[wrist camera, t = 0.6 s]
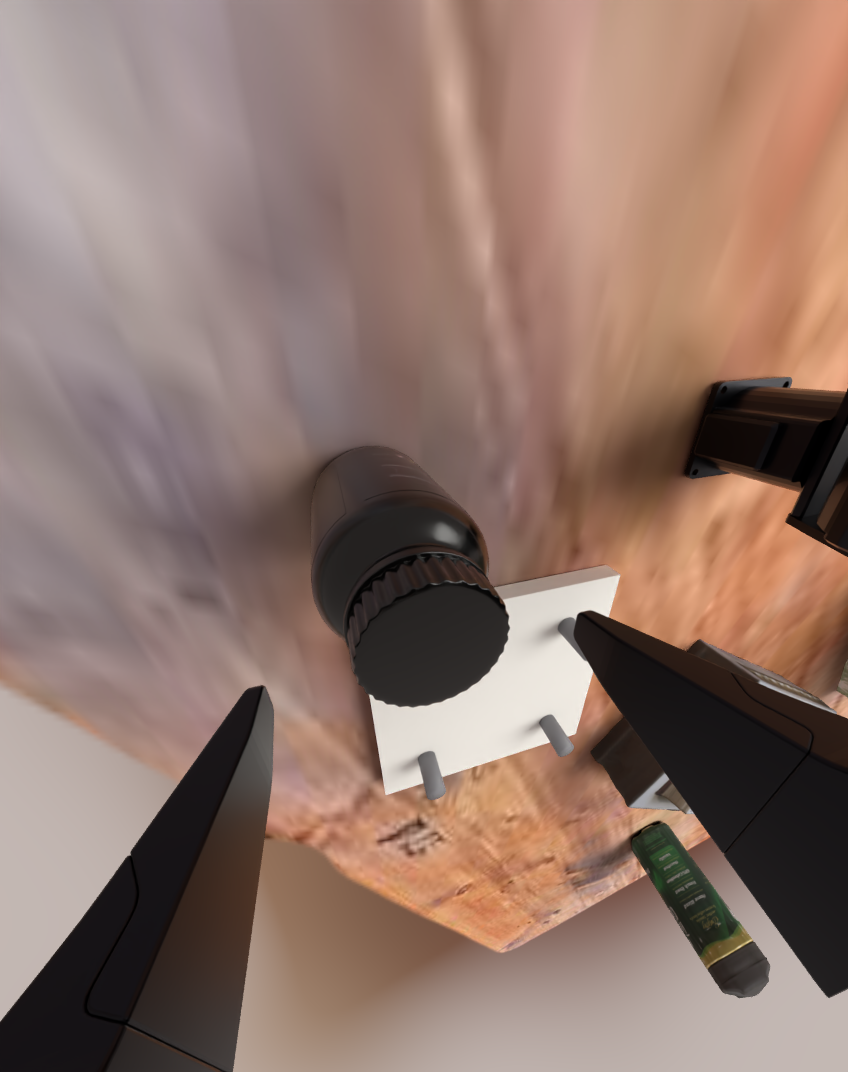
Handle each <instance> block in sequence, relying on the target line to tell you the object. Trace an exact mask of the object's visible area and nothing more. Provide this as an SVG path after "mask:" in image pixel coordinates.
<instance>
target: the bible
mask: <svg viewBox="0 0 848 1072" xmlns="http://www.w3.org/2000/svg"><path fill="white" fill-rule="evenodd" d="M687 652H688V653H690V654H693V655H695V656H697V657H700V658H702V659H704V660H706V661H709V662H711V663H713V664H715V665H718V666H720V667H722V668H725V669H727V670H729V672H734V673H736V674H738V675H741V676H743V677H745V678H747V679H750V680H752V681H754V682H757V683H759V684H761V685H764V686H766V687H768V688H771V689H773V690H775V691H778V692H781V693H783V694H786V695H788V696H791V697H793V698H796V699H798V700H801V701H803V702H806V703H808V704H811V705H814V706H816V707H819V708H821V709H824V710H827V711H829V712H832V713H834V714H836V713H837V712H836V711H835V710H833V709H832V708H830V707H829V706H827V705H826V704H825V703H824V702H823V701H822V700H820V699H819V698H817V697H815V696H813V695H812V694H810V693H809V692H807V691H806V690H804V689H802V688H800V687H798V686H796V685H795V684H793V683H791V682H790V681H788V680H787V679H785V678H783V677H782V676H780V675H778V674H775V673H773V672H772V671H769V670H767V669H765V668H762V667H761V666H757V665H755V664H753V663H750V662H749V661H747V660H743V659H739V658H738V657H736V656H734V655H732V654H730V653H727V652H726V651H724V650H722V649H719V648H717V647H715V646H713V645H710V644H708V643H706V642H704V641H702V640H701V639H699V640H698V641H697V642H696V643H695V644H694V645H693V646H692V647H691V648H690V649H689V650H688V651H687ZM591 754H592V755H593V757H594V759H595V760H596V761H597V762H598V763H600V764H601V765H603V767H604V768H605V770H606V771H607V772H608V774H609V776H610V778H611V780H612V782H613V783H614V785H615V787H616V789H617V790H618V791H619V792H620V793H621V795H622V796H623V798H624V799H625V803H626V805H627V806H628V807H631V808H642V809H667V810H672V811H680V810H681V811H682V812H684V813H685V814H694V813H693V811H692V810H691V809H690V807H689V806H688V805H687V803H686V802H685V800H684V799H683V798H682V796H681V795H680V793H679V792H678V791H677V789H676V788H675V787H674V785H673V784H672V782H671V781H670V780H669V778H668V777H667V775H666V774H665V773H664V771H663V770H662V768H661V767H660V766H659V764H658V763H657V762H656V760H655V759H654V757H653V756H652V755H651V753H650V752H649V750H648V749H647V748H646V746H645V745H644V744H643V742H642V741H641V739H640V738H639V737H638V735H637V734H636V732H635V731H634V730H633V728H632V727H631V726H630V724H629V723H628V721H627V720H626V719H625V717H624V718H623V719H622V720H621V721H620V722H619V723H618V724H617V725H616V726H615V727H614V728H613V729H612V730H611V731H610V732H609V734H608V735H607V736H606V737H604V738H603V739H602V741H601V742H600V743H599V744H598V745H597V746H596V747H595V748H594V749H593V750H592V751H591Z"/></svg>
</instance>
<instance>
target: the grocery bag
mask: <svg viewBox="0 0 848 1072" xmlns="http://www.w3.org/2000/svg"><path fill="white" fill-rule="evenodd" d="M837 691H838V692H840V693H841V694H843V695H845V696H846V697H848V660H847V662H846V664H845V666H844V670H843V673H842V676H841V679H840V682H839V685H838V688H837Z"/></svg>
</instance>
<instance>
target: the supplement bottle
mask: <svg viewBox="0 0 848 1072" xmlns="http://www.w3.org/2000/svg"><path fill="white" fill-rule="evenodd" d="M488 571H489V557H488V550H487V546H486V542H485V540H484V537H483V535H482V532H481V531H480V529H479V527H478V526H477V524H476V523H475V522H474V520H473V519H472V518H471V517H470V515H469V514H468V513H467V512H466V511H465V510H464V509H463V508H462V507H461V506H460V505H459V504H458V503H457V502H456V501H455V500H454V499H453V498H452V497H451V496H450V495H449V494H448V493H447V492H446V491H445V490H443V489H442V488H441V487H440V486H439V485H438V484H437V483H436V482H435V481H434V480H433V479H432V478H431V477H430V476H429V475H428V474H427V473H426V472H425V471H424V470H423V469H422V468H421V467H420V466H419V465H418V464H416V463H415V462H414V461H413V460H412V459H410V458H409V457H408V456H406V455H404V454H403V453H401V452H399V451H396V450H394V449H390V448H386V447H380V446H367V447H361V448H357V449H353V450H351V451H348V452H346V453H344V454H342V455H340V456H339V457H337V458H336V459H335V460H333V461H332V462H331V463H330V464H329V465H328V466H327V467H326V468H325V469H324V471H323V472H322V473H321V475H320V477H319V478H318V480H317V483H316V485H315V488H314V491H313V496H312V505H311V583H312V592H313V597H314V602H315V604H316V607H317V610H318V612H319V614H320V615H321V617H322V619H323V620H324V622H325V623H326V624H327V626H328V627H329V628H330V629H331V630H332V631H333V632H334V633H335V634H336V635H337V636H339V637H340V638H341V639H343V640H344V641H346V643H347V646H348V648H349V651H350V659H351V666H352V670H353V673H354V674H355V675H356V679H357V682H358V684H359V685H361V686H362V687H364V690H365V693H367V694H370V695H373V697H374V699H375V700H379V701H383V702H384V703H385V704H387V705H396V706H398V707H405V706H408V707H412V708H414V707H418V706H428V705H431V704H433V703H440V702H443V701H444V700H446V699H449V698H453V697H455V696H457V695H458V694H459V693H461V692H464V691H467V690H468V689H469V688H470V687H471V686H472V685H474V684H476V683H478V682H479V681H480V680H481V679H482V677H483V676H485V675H486V674H488V673H489V672H490V670H491V668H492V667H493V666H494V665H495V664H496V663H497V662H498V659H499V656H500V655H501V654H502V653H503V652H504V645H505V644H506V642H507V641H508V632H509V630H510V626H509V624H508V621H509V614H508V612H507V611H506V605H505V603H504V601H503V600H502V599H501V597H500V596H499V595H498V593H497V591H496V590H495V589H494V588H493V586H492V585H491V584H490V582H489V580H488Z"/></svg>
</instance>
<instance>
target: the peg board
mask: <svg viewBox="0 0 848 1072" xmlns="http://www.w3.org/2000/svg"><path fill="white" fill-rule="evenodd" d="M619 578H620V574H619V573H617V572H616V571H615V570H613V569H612V568H610V567H609V566H608V565H602V566H597V567H592V568H587V569H583V570H578V571H573V572H568V573H563V574H558V575H553V576H548V577H543V578H538V579H533V580H528V581H523V582H518V583H514V584H509V585H504V586H499V587H494V589H495V590H496V591H497V593H498V595H499V596H500V597H501V599H502V600H503V601H504V603H505V605H506V611H507V612H508V614H509V621H508V624H509V626H510V630H509V632H508V641H507V642H506V644H505V645H504V652H503V653H502V654H501V655H500V656H499V659H498V662H497V663H496V664H495V665H494V666H493V667H492V668H491V670H490V672H489V673H488V674H486V675H485V676H483V677H482V679H481V680H480V681H479V682H478V683H476V684H474V685H472V686H471V687H470V688H469V689H468V690H467V691H464V692H461V693H459V694H458V695H457V696H455V697H453V698H449V699H446V700H444V701H443V702H440V703H433V704H431V705H428V706H418V707H414V708H412V707H408V706H405V707H398V706H396V705H387V704H385V703H384V702H383V701H379V700H375V699H374V697H373V695H370V694H369V696H370V702H371V708H372V714H373V720H374V726H375V732H376V738H377V745H378V751H379V757H380V763H381V769H382V775H383V781H384V787H385V793H386V795H388V794H391V793H394V792H397V791H400V790H403V789H407V788H410V787H413V786H416V785H419V784H422V783H424V787H425V791H426V795H427V798H428V799H430V800H435V799H438V798H440V797H442V796H443V795H444V794H445V792H446V789H445V785H444V782H443V779H442V777H444V776H447V775H450V774H453V773H456V772H459V771H462V770H465V769H469V768H472V767H475V766H478V765H481V764H484V763H487V762H490V761H493V760H496V759H500V758H503V757H506V756H509V755H512V754H515V753H518V752H521V751H524V750H527V749H531V748H534V747H537V746H540V745H543V744H546V743H549V742H550V743H551V744H552V746H553V748H554V749H555V751H556V753H557V754H558V756H560V757H562V756H566V755H568V754H569V753H571V752H572V750H573V749H574V746H573V744H572V743H571V741H570V740H569V738H568V736H571V735H574V734H576V730H577V727H578V723H579V720H580V716H581V713H582V709H583V706H584V702H585V699H586V695H587V692H588V688H589V684H590V681H591V677H592V674H593V670H592V668H591V667H590V665H589V663H588V662H587V660H586V658H585V657H584V655H583V653H582V651H581V650H580V648H579V646H578V645H577V643H576V641H575V639H574V636H573V631H574V626H575V622H576V617H577V615H578V613H580V612H583V611H588V610H592V611H595V612H597V613H600V614H602V615H604V616H606V617H609V614H610V610H611V607H612V603H613V599H614V596H615V592H616V589H617V585H618V582H619Z"/></svg>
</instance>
